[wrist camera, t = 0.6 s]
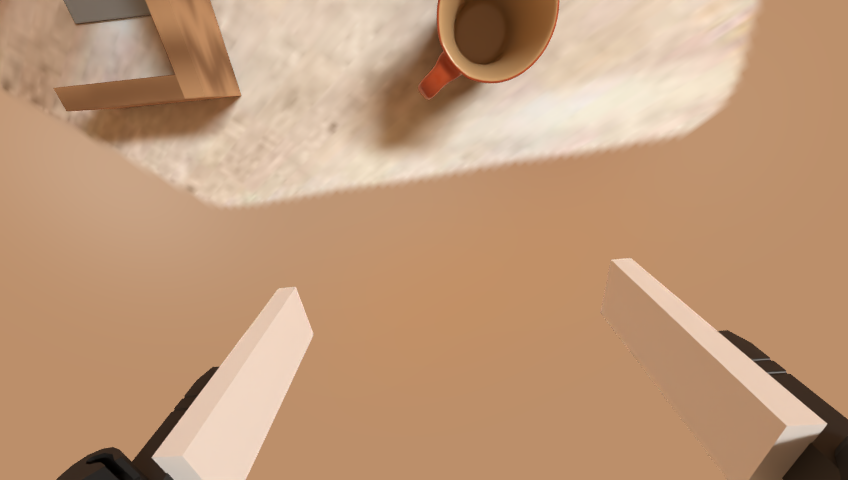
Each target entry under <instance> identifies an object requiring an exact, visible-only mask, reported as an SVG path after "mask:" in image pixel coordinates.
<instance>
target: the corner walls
mask: <svg viewBox="0 0 848 480" xmlns="http://www.w3.org/2000/svg"><path fill="white" fill-rule="evenodd" d="M145 1H146V3H147V6H148V8H149V11H150V13H151V16H152V18H153V20H154V23H155V25H156V28H157V30H158V33H159V35H160V38H161V40H162V43H163V45H164V48H165V50H166V53H167V55H168V58H169V60H170V63H171V65H172V68H173V70H174V72H175V75H167V76H158V77H149V78H140V79H131V80H122V81H113V82H104V83H95V84H86V85H77V86H68V87H59V88H54V90H55V92H56V93H57V95H58V97H59V99H60V100H61V102H62V104H63V106H64V107H65V109H66V111H80V110H98V109H116V108H129V107H139V106H148V105H158V104H167V103H177V102H186V101H196V100H205V99H215V98H224V97H234V96H241V93H240V90H239V87H238V84H237V81H236V78H235V75H234V72H233V69H232V66H231V63H230V60H229V56H228V53H227V50H226V47H225V44H224V41H223V38H222V35H221V32H220V29H219V26H218V23H217V20H216V17H215V14H214V11H213V8H212V5H211V1H210V0H145Z"/></svg>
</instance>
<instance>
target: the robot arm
mask: <svg viewBox="0 0 848 480" xmlns="http://www.w3.org/2000/svg"><path fill="white" fill-rule="evenodd" d="M601 314H602V315H603V317H604V318H605V320H606V321H607V322H608V323H609V325H610V326H611V327H612V329H613V330H614V331H615V333H616V334H617V335H618V336H619V338H620V339H621V341H622V342H623V343H624V344H625V346H626V347H627V348H628V350H629V351H630V352H631V354H632V355H633V356H634V358H635V359H636V360H637V361H638V363H639V364H640V365H641V367H642V368H643V369H644V371H645V372H646V373H647V375H648V376H649V377H650V378H651V380H652V381H653V382H654V384H655V385H656V387H657V388H658V389H659V390H660V392H661V393H662V394H663V396H664V397H665V398H666V400H667V401H668V402H669V404H670V405H671V406H672V408H673V409H674V410H675V411H676V413H677V414H678V415H679V417H680V418H681V419H682V421H683V422H684V423H685V425H686V426H687V427H688V429H689V430H690V431H691V432H692V434H693V435H694V436H695V438H696V439H697V440H698V441H699V443H700V444H701V446H702V447H703V448H704V450H705V451H706V452H707V453H708V455H709V456H710V457H711V459H712V460H713V461H714V463H715V464H716V465H717V466H718V468H719V469H720V471H721V472H722V473H723V474H724V476H725V477H726V478H727V480H848V419H847V418H845V417H844V416H843V415H841V414H840V413H839V412H838V411H836V410H835V409H834V408H833V407H831V406H830V405H829V404H827V403H826V402H825V401H824V400H823V399H821V398H820V397H819V396H817V395H816V394H815V393H813V392H812V391H811V390H810V389H809V388H807V387H806V386H805V385H804V384H802V383H801V382H800V381H798V380H797V379H796V378H795V377H793V376H792V375H791V374H787V373H786V370H785V369H783V368H782V367H781V366H780V365H778V364H777V363H776V362H774V361H771V360H770V358H769V357H768V356H767V355H766V354H764V353H763V352H762V351H761V350H759V349H758V348H757V347H755V346H754V345H753V344H752V343H750V342H748V341H747V340H745V339H743V338H741V337H739V336H737V335H735V334H733V333H732V332H730V331H728V330H727V331H716V330H715V329H714V328H713V327H712V326H711V325H710V324H708V323H707V322H706V321H705V320H704V319H702V318H701V317H700V316H699V315H698V314H697V313H695V312H694V311H693V310H692V309H691V308H689V307H688V306H687V305H686V304H685V303H683V302H682V301H681V300H680V299H679V298H678V297H676V296H675V295H674V294H673V293H672V292H670V291H669V290H668V289H667V288H666V287H664V286H663V285H662V284H661V283H660V282H659V281H657V280H656V279H655V278H654V277H653V276H651V275H650V274H649V273H648V272H647V271H646V270H644V269H643V268H642V267H641V266H640V265H638V264H637V263H636V262H635V261H634V260H632V259H631V258H625V259H615V260H614V259H613V260H611V262H610V267H609V272H608V278H607V282H606V287H605V293H604V298H603V303H602V308H601ZM312 337H313V332H312V329H311V327H310V324H309V321H308V318H307V316H306V313H305V311H304V308H303V305H302V302H301V300H300V297H299V294H298V292H297V289H296V287H289V288H279V289H278V290H277V291H276V293H275V294H274V295H273V297H272V298H271V299H270V301H269V302H268V303H267V305H266V306H265V307H264V309H263V310H262V311H261V313H260V314H259V315H258V317H257V318H256V319H255V321H254V322H253V323H252V325H251V326H250V327H249V329H248V330H247V331H246V333H245V334H244V335H243V336H242V338H241V339H240V341H239V342H238V343H237V345H236V346H235V347H234V348H233V350H232V351H231V352H230V354H229V355H228V356H227V358H226V359H225V361H224V362H223V363H222V365H221V366H220V367H212V368H211V369H210V370H209V371H207V372H206V373H205V374H204V375H203V376H201V377H200V378H199V379H198V380H197V381H196V382H195V383H194V384H193V386H192V387H191V389H189V391H188V392H187V393H186V395H185V398H184V399H182V400H181V401H180V402H179V403H178V405H177V406H176V407H175V408H174V409H175V410H174V412H171V413H170V415H169V416H168V417H167V418H166V420H165V421H164V422H163V424H162V425H161V426H160V427H159V428H158V430H157V431H156V432H155V434H154V435H153V436H152V437H151V439H150V440H149V441H148V442H147V444H146V445H145V446H144V448H143V449H142V450H141V451H140V452H139V454H138V455H137V456H136V457H135V459H134V460H133V461H132V462H131V461H130V460H129V459H128V458H127V457H126V456H125V455H124V454H123V453H122V452H121V451H120V450H119V449H116V448H114V447H112V448H105V449H101V450H99V451H96V452H94V453H92V454H90V455H87V456H86V457H84V458H83V459H81V460H80V461H78V462H77V463H75V464H74V465H72V466H71V467H70V468H69V469H68V470H66V471H65V472H64V473H63V474H62V475H61V476H60V477H58V478H57V480H245V479H246V478H247V475H248V473H249V471H250V469H251V467H252V465H253V463H254V461H255V458H256V456H257V454H258V452H259V450H260V448H261V446H262V443H263V441H264V439H265V437H266V435H267V433H268V431H269V429H270V426H271V424H272V422H273V420H274V418H275V416H276V414H277V412H278V409H279V407H280V405H281V403H282V401H283V399H284V397H285V394H286V392H287V390H288V388H289V386H290V384H291V381H292V380H293V377H294V375H295V373H296V371H297V369H298V367H299V365H300V362H301V360H302V358H303V356H304V354H305V352H306V350H307V348H308V345H309V343H310V341H311V339H312Z"/></svg>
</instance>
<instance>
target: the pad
mask: <svg viewBox="0 0 848 480" xmlns="http://www.w3.org/2000/svg"><path fill="white" fill-rule="evenodd" d="M64 2H65V4H66V6H67V8H68V10H69V12H70V14H71V16H72V18H73V20H74V22H75V23H76V24H80V23H88V22H96V21H104V20H113V19H121V18H129V17H137V16H145V15H151V13H150V11H149V8H148V6H147V3H146V1H145V0H64Z"/></svg>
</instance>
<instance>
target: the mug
mask: <svg viewBox="0 0 848 480" xmlns="http://www.w3.org/2000/svg"><path fill="white" fill-rule="evenodd" d="M558 11H559V0H438V5H437V30H438V37H439V42H440V44H441V47H442V49H443V52H442V53H441V54H440V56H439V58H438V60H437V62H436V64H435V66H434V67H433V69H432V70H431V71H430V72H429V73H428V74H427V75H426V76H425V77H424V79H423V80H422V81H421V82H420V83H419V85H418V91H419V92H420V94H421V95H422V96H423V97H424V98H425V99H426V100H430V99H432V98H433V97H434V96H435V95H436V94H437V93H438V92H439V91H440V90H441V89H442V88H443V87H444V86H445V85H446V84H448V83H449V82H451V81H453V80H455V79H457V78H458V77H459V76H461V75H463V76H465V77H466V78H468V79H470V80H473V81H477V82H482V83H500V82H504V81H508V80H511V79H513V78H515V77H517V76H519V75H520V74H522V73H523V72H525V71H526V70H527V69H529V68H530V67H531V66H532V65H533V64H534V63H535V62H536V61H537V60H538V58H539V57H540V56H541V55H542V53H543V52H544V50H545V49H546V47H547V45H548V43H549V41H550V39H551V37H552V35H553V32H554V29H555V26H556V22H557V18H558Z"/></svg>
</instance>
